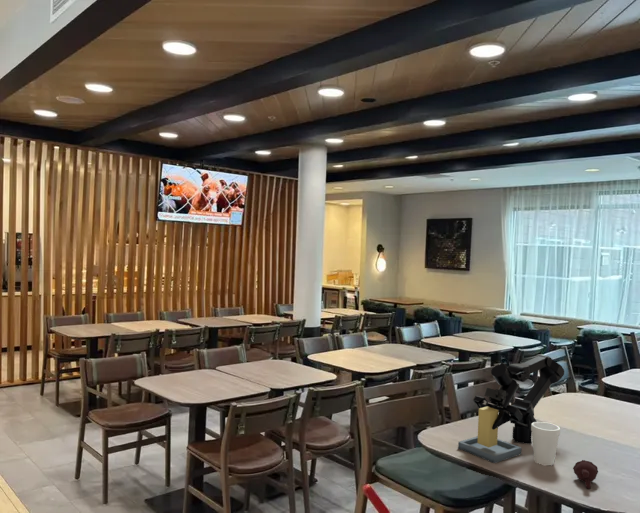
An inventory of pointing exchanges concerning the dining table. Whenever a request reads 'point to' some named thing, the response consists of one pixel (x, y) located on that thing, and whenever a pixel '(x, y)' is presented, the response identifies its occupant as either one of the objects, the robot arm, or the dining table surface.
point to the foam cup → (545, 442)
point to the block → (487, 426)
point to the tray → (490, 449)
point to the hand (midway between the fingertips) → (486, 426)
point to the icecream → (586, 472)
